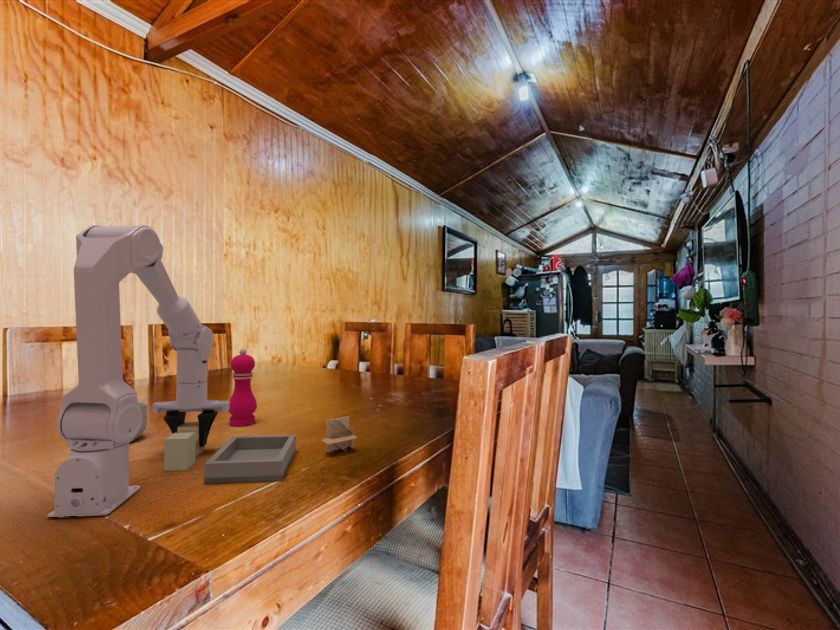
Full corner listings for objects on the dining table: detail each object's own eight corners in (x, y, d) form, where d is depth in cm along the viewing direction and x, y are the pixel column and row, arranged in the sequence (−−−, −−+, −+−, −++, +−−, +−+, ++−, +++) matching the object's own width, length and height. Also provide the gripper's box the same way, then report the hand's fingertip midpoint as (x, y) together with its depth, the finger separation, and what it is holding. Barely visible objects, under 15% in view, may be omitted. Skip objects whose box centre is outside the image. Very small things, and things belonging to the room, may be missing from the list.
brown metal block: (197, 455, 86) (198, 426, 86) (177, 456, 85) (177, 427, 85) (205, 449, 90) (205, 421, 90) (185, 449, 89) (185, 422, 89)
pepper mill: (227, 421, 113) (228, 347, 112) (255, 418, 116) (256, 347, 116) (227, 428, 106) (228, 350, 106) (257, 425, 109) (258, 349, 109)
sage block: (186, 470, 78) (187, 438, 78) (164, 471, 77) (164, 439, 77) (195, 462, 82) (195, 432, 82) (173, 463, 81) (173, 432, 81)
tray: (281, 480, 74) (281, 461, 74) (203, 483, 72) (204, 463, 72) (295, 450, 90) (295, 434, 90) (232, 452, 88) (232, 436, 88)
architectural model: (357, 453, 90) (357, 419, 90) (328, 460, 85) (329, 424, 85) (349, 449, 93) (349, 416, 93) (320, 456, 88) (321, 421, 88)
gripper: (234, 378, 92) (233, 439, 92) (164, 378, 90) (163, 441, 90) (223, 383, 85) (223, 449, 85) (147, 384, 83) (146, 451, 83)
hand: (191, 445), depth 87 cm, fingers closed on brown metal block, 4 cm apart
